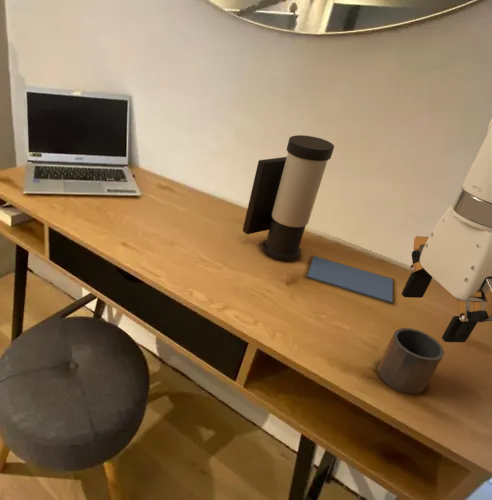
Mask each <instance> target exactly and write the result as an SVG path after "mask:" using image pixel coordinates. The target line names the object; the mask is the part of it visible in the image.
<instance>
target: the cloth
mask: <svg viewBox="0 0 492 500" xmlns="http://www.w3.org/2000/svg"><path fill="white" fill-rule="evenodd" d="M307 278H308V279H311V280H315V281H318V282H319V283H320V282H321V283H324V284H328V285H331V286H333V287H336V288H341V289H344V290H346V291H349V292H353V293H357V294H360V295H363V296H367V297H369V298H372V299H376V300H380V301H382V302H386V303H389V304H392V303H393V302H394V294H393V293H394V292H393V291H394V284H393V283H394V279H393V278H391V277H388V276H384V275H381V274H378V273H375V272H370V271H367V270H363V269H360V268H356V267H354V266H350V265H346V264H343V263H339V262H336V261H332V260H329V259H325V258H322V257H320V256H315V255H313V256H312V259H311V263H310V268H309V271H308V273H307Z"/></svg>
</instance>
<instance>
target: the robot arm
mask: <svg viewBox="0 0 492 500" xmlns="http://www.w3.org/2000/svg"><path fill="white" fill-rule="evenodd" d="M412 249H413V250H412V252H411V261H412V262H411V263H412V264H411V265H410V266H409V270H410V272H411V273H410V274H409V276H408V279H407V281H406V283H405V285H404V287H403V289H402V292H401V296H402V297H403V298H413V299H415V298H416V299H421V298H423V297H424V296H425V294H426V292H427V290H428V288H429V286H430V284H431V283H432V280H433V279H434V280H435V281H436V282H437V283H438V284H439V285H440V286H441V287H443V289H444V290H445V291H447V292H448V294H450V295H451V296H452V297H453V298H454V299H456V300H457V309H458V315H454V316H452V318H451V320H450V322H449V323H448V325H447V326H446V329H445V330H444V332H443V334H442V335H441V339H442V340H443V342H445V343H466V342H467V340H468V339H469V338H470V336H471V335H472V332H473V331H474V330H475V328H476V326H477V324H478V323H484V322H492V118H491V119H490V121H489V123H488V127H487V135H486V137H485V139H484V140H483V142H482V144H481V147H480V149H479V151H478V153H477V154H476V156H475V158H474V160H473V163H472V165H471V167H470V169H469V170H468V172H467V175H466V176H465V179H464V180H463V183H462V185H461V187H460V189H459V191H458V193H457V195H456V198H455V199H454V202H453V203H452V204H450V206H448V208H447V209H446V210H445V212H444V213H443V214H442V215H441V217H440V218H439V220H438V222H437V223H436V225H435V226H434V228H433V229H432V231H431V233H430V234H429V236H421V235H416V236H414V239H413V248H412ZM485 302H486V303H487V306H486V303H485ZM470 303H473V311H471V309H470Z"/></svg>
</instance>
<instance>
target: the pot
mask: <svg viewBox="0 0 492 500" xmlns="http://www.w3.org/2000/svg"><path fill="white" fill-rule="evenodd" d="M444 355H445V350H444V348H443V346H442V345H441V343H440V342H439V341H438V340H437V339H435V338H434V337H433V336H431V335H430V334H428V333H426V332H424V331H422V330H419V329H415V328H410V327H400V328H399V329H396V330H395V331H394V333H393V334H392V336H391V338H390V341H389V343H388V345H387V347H386V349H385V351H384V353H383V355H382V357H381V359H380V361H379V364H378V366H377V372H378V375H379V377H380V378H381V379H382V380H383V381H384V383H386V385H388V386H389V387H391V388H393V389H394V390H397V391H399V392H402V393H404V394H410V395H416V394H417V395H418V394H421V393H422V392H423V391H424V390H425V389H426V388H427V385H428V384H429V382H430V381H431V378H432V377H433V375H434V374H435V372H436V370H437V368H438V367H439V365H440V363H441V361H442V360H443V358H444Z"/></svg>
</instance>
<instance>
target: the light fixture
mask: <svg viewBox="0 0 492 500" xmlns="http://www.w3.org/2000/svg"><path fill="white" fill-rule="evenodd" d="M334 148H335V145H334V144H333V143H332V142H330V141H329V140H326V139H324V138H321V137H317V136H311V135H304V134H303V135H302V134H301V135H300V134H299V135H298V134H297V135H292V136H290V137H289V138H288V142H287V145H286V152H287V154H286V156H282V157H274V158H267V159H259V160H258V162H257V166H256V170H255V175H254V179H253V184H252V187H251V191H250V196H249V200H248V205H247V209H246V214H245V217H244V223H243V226H242V232H243V233H245V234H246V235H251V234H256V233H260V232H261V233H262V232H266V231H268V232H267V236H266V238H265V239H264V240H263V241H262V242H261V243H262V244H261V251H262V252H263V254H264V255H265V256H266V257H268V258H270V259H272V260H275V261H279V262H283V263H290V262H295V261H297V260H299V259H300V256H301V253H302V249H301V247H300V245H301V243H302V238H303V236H304V233H305V229H306V226H307V225H308V224H309V222H310V219H311V216H312V212H313V209H314V205H315V203H316V199H317V196H318V192H319V190H320V186H321V183H322V180H323V176H324V174H325V170H326V167H327V164H328V161H329V160H330V159H331V158H332V156H333V152H334Z"/></svg>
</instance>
